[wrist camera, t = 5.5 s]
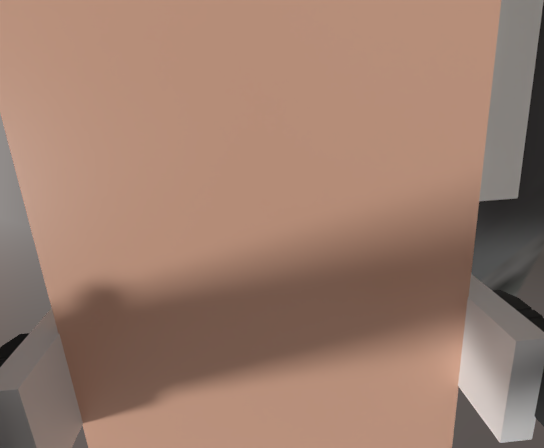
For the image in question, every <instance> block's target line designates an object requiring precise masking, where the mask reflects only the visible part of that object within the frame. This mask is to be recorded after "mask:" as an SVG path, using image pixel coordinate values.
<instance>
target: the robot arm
mask: <svg viewBox="0 0 544 448" xmlns="http://www.w3.org/2000/svg"><path fill="white" fill-rule="evenodd" d="M458 386H459V388H460V389H461V390H462V392H463V393H464V394H465V396H466V397H467V399H468V400H469V401H470V403H471V404H472V405H473V407H474V408H475V409H476V411H477V412H478V413H479V415H480V416H481V418H482V419H483V420H484V421H485V423H486V424H487V426H488V427H489V428H490V430H491V431H492V432H493V434H494V435H495V437H496V438H497V439H498V441H499V442H500V443H503V442H511V441H521V440H530V439H532V436H533V431H534V426H535V420H536V418H537V420H538V421H539V422H540V423H541V424H542V425H543V426H544V318H543V317H542V315H540V314H539V313H538V312H536V311H535V310H532V309H531V307H529V306H528V305H527V304H525V303H524V302H523V301H521V300H520V299H519V298H517V297H515V296H512V295H510V294H508V293H506V292H503V291H501V290H495V291H492V290H491V289H489V288H488V287H487V286H486V285H484V284H483V283H482V282H481V281H479V280H478V279H477V278H476V277H474V276H473V275H472V274H471V279H470V288H469V297H468V299H467V308H466V317H465V326H464V335H463V344H462V353H461V363H460V372H459V381H458ZM82 425H83V422H82V418H81V414H80V410H79V406H78V402H77V399H76V395H75V391H74V387H73V383H72V380H71V376H70V372H69V368H68V364H67V361H66V357H65V353H64V349H63V345H62V342H61V338H60V334H58V330H57V326H56V322H55V318H54V315H53V311H52V308H51V309H50V310H49V312H48V313H47V314H46V315H45V316H44V318H43V319H42V320H41V321H40V322H39V323H38V324H37V326H36V327H35V328H34V329H33V330H32V331H31V332H30V333H29V334H20V335H18V336H17V337H15V338H14V339H12V340H10V341H9V342H7V343H6V344H4V345H3V346H2V347H1V348H0V448H72V446H73V444H74V441H75V439H76V437H77V435H78V433H79V431H80V429H81V427H82Z"/></svg>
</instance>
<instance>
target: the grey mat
mask: <svg viewBox="0 0 544 448" xmlns="http://www.w3.org/2000/svg"><path fill="white" fill-rule="evenodd" d="M543 1H544V0H501V8H500V17H499V26H498V35H497V44H496V53H495V62H494V71H493V81H492V90H491V99H490V108H489V117H488V126H487V135H486V144H485V153H484V162H483V171H482V180H481V189H480V198H479V201H489V200H502V199H515V198H518V192H519V185H520V177H521V169H522V162H523V154H524V146H525V139H526V131H527V123H528V116H529V108H530V100H531V93H532V85H533V77H534V70H535V62H536V54H537V47H538V39H539V31H540V24H541V16H542V8H543Z"/></svg>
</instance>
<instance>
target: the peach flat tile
mask: <svg viewBox="0 0 544 448" xmlns="http://www.w3.org/2000/svg"><path fill="white" fill-rule="evenodd" d="M500 8H501V0H0V113H1V117H2V121H3V125H4V128H5V132H6V136H7V139H8V144H9V147H10V151H11V155H12V159H13V162H14V167H15V170H16V174H17V178H18V182H19V185H20V189H21V193H22V197H23V201H24V205H25V208H26V212H27V216H28V220H29V223H30V227H31V231H32V235H33V239H34V242H35V246H36V250H37V254H38V257H39V261H40V265H41V269H42V273H43V276H44V280H45V284H46V288H47V292H48V296H49V299H50V303H51V307H52V311H53V315H54V318H55V322H56V326H57V330H58V334H60V338H61V342H62V345H63V349H64V353H65V357H66V361H67V364H68V368H69V372H70V376H71V380H72V383H73V387H74V391H75V395H76V399H77V402H78V406H79V410H80V414H81V418H82V422H83V429H84V432H85V436H86V440H87V444H88V448H452V442H453V433H454V423H455V414H456V405H457V396H458V387H459V386H458V381H459V372H460V363H461V353H462V344H463V335H464V326H465V317H466V308H467V299H468V297H469V288H470V279H471V270H472V261H473V252H474V243H475V234H476V225H477V216H478V207H479V198H480V189H481V180H482V171H483V162H484V153H485V144H486V135H487V126H488V117H489V108H490V99H491V90H492V81H493V71H494V62H495V53H496V44H497V35H498V26H499V17H500Z"/></svg>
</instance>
